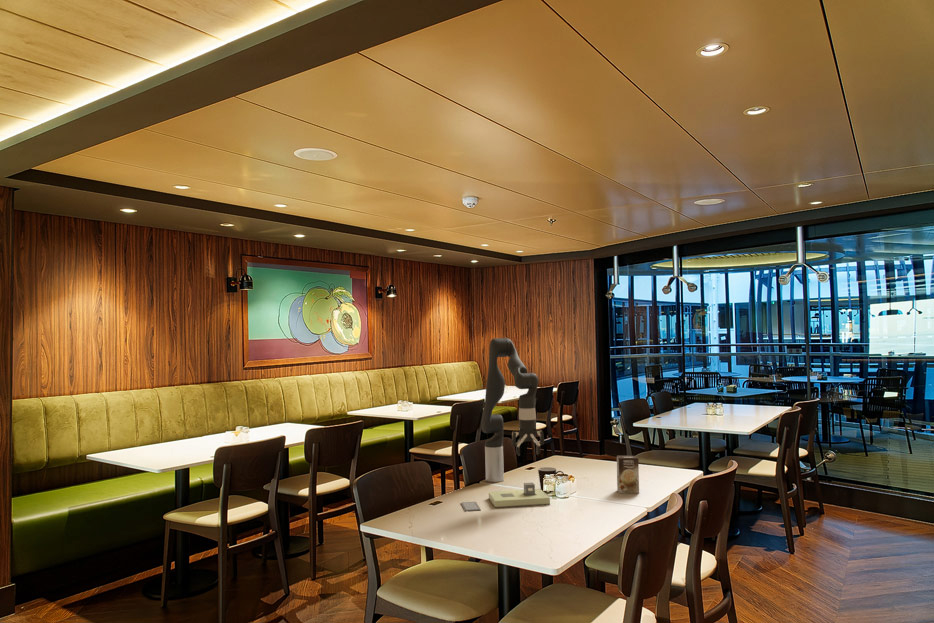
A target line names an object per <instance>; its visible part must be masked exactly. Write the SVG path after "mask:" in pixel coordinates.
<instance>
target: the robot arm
mask: <svg viewBox="0 0 934 623" xmlns="http://www.w3.org/2000/svg"><path fill="white" fill-rule="evenodd" d="M488 348H489V349H488V371H487V379H486V386H485V396H484V405H483V411H482V416H481V422H480V427H481V431H482V432H483V433H484V434H493V435H492V437H490V438H487V439H486V440H485V442H484V455H485V456H484V458H485V459H484V460H485V461H484V462H485V463H484V464H485V466H484V467H485V481H486V482H490V483H500V482H503V481H504V480H505V476H504V472H505V471H504V467H505V466H504V425H505V424H504V418H503V416H502V414H499V413H498V414H493V410H494V408H495V407H496V405H497V404H498V403H499V402H500V401H501V400H502V398H503V396H504V394H505V388H506V380H505V377H504V374H502V372H501V370H500V367H499V365H498V358H506V357H508V358H509V359H508V362H507V368H508V370H509V372H510V373H511V375H512V376H513V377H512V378H513V380H514V381H513V382H514V386H515V387H516V388H517V389H518V390H527V392H526V393H523V394H520V395H519V397H518V431H512V432H511V445H512V446H513V447H515V452H516V455H517V456H519V457H520V456H521V447H520V446H521V444H523V443H524V442H534V444H535V451H536V453H535V454H536V455H537V456H538V455H540V454H541V446H542V445H544V444H545V437H544V431H543V430H537V413H536V412H537V411H536V400H535V399H536V394H537V390H538V386H539V377H538V375H537V374H536V373H534V372H528V369H527V367H526V366H525V364H524V363H523V361H522V360H521V359H520V358H521V357H520V356H519V354H518V351H517V349H516V346H515V345H514V342H513V341H512V340H511V339H510V338H508V337H498V338H496V337H495V338H492V339H491V340H490V342H489V347H488ZM537 435H538V436H539V441H538V439H537V438H536V437H537ZM518 436H519V439H518V440H516V438H517V437H518Z"/></svg>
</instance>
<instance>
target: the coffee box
mask: <svg viewBox="0 0 934 623" xmlns="http://www.w3.org/2000/svg"><path fill="white" fill-rule="evenodd" d="M639 469H640V468H639V457H638V456H636V455H616V480H617V481H616V484H617V486H616V487H617V488H616V489H617V492H618V493H619V494H640V475H639V474H640V473H639Z"/></svg>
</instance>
